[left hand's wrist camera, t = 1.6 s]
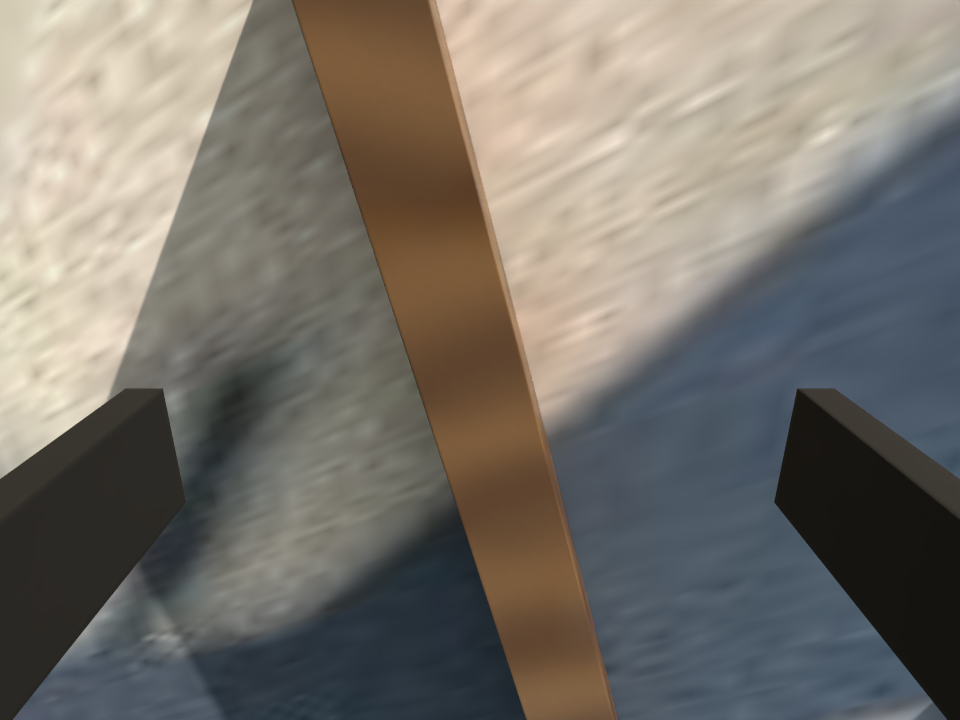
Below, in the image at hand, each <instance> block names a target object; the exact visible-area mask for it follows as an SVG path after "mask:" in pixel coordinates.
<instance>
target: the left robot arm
mask: <svg viewBox="0 0 960 720" xmlns="http://www.w3.org/2000/svg"><path fill="white" fill-rule="evenodd" d="M184 504H185V497H184V492H183V487H182V482H181V477H180V472H179V467H178V462H177V457H176V452H175V447H174V442H173V437H172V432H171V427H170V422H169V417H168V413H167V408H166V403H165V398H164V393H163V389H124V390H123V391H122V392H120V393H119V394H118V395H116V396H115V397H113V398H112V399H111V400H109V401H108V402H106V403H105V404H104V405H102V406H101V407H100V408H98V409H97V410H95V411H94V412H93V413H91V414H90V415H88V416H87V417H86V418H84V419H83V420H82V421H80V422H79V423H77V424H76V425H75V426H73V427H72V428H70V429H69V430H68V431H66V432H65V433H64V434H62V435H61V436H59V437H58V438H57V439H55V440H54V441H52V442H51V443H50V444H48V445H47V446H46V447H44V448H43V449H41V450H40V451H39V452H37V453H36V454H34V455H33V456H32V457H30V458H29V459H28V460H26V461H25V462H23V463H22V464H21V465H19V466H18V467H16V468H15V469H14V470H12V471H11V472H10V473H8V474H7V475H5V476H4V477H3V478H1V479H0V720H13V718H14V717H15V716H16V715H17V713H18V712H19V711H20V710H21V708H22V707H23V706H24V705H25V703H26V702H27V701H28V700H29V698H30V697H31V696H32V695H33V693H34V692H35V691H36V690H37V688H38V687H39V686H40V685H41V683H42V682H43V681H44V679H45V678H46V677H47V676H48V674H49V673H50V672H51V671H52V669H53V668H54V667H55V666H56V664H57V663H58V662H59V661H60V659H61V658H62V657H63V656H64V654H65V653H66V652H67V651H68V649H69V648H70V647H71V646H72V644H73V643H74V642H75V641H76V639H77V638H78V637H79V636H80V634H81V633H82V632H83V631H84V629H85V628H86V627H87V626H88V624H89V623H90V622H91V620H92V619H93V618H94V617H95V615H96V614H97V613H98V612H99V610H100V609H101V608H102V607H103V605H104V604H105V603H106V602H107V600H108V599H109V598H110V597H111V595H112V594H113V593H114V592H115V590H116V589H117V588H118V587H119V585H120V584H121V583H122V582H123V580H124V579H125V578H126V577H127V575H128V574H129V573H130V572H131V570H132V569H133V568H134V567H135V565H136V564H137V563H138V561H139V560H140V559H141V558H142V556H143V555H144V554H145V553H146V551H147V550H148V549H149V548H150V546H151V545H152V544H153V543H154V541H155V540H156V539H157V538H158V536H159V535H160V534H161V533H162V531H163V530H164V529H165V528H166V526H167V525H168V524H169V523H170V521H171V520H172V519H173V518H174V516H175V515H176V514H177V513H178V511H179V510H180V509H181V507H182V506H183V505H184ZM775 504H776V505H777V506H778V507H779V509H780V510H781V511H782V513H783V514H784V515H785V516H786V518H787V519H788V520H789V521H790V523H791V524H792V525H793V526H794V528H795V529H796V530H797V531H798V533H799V534H800V535H801V536H802V538H803V539H804V540H805V541H806V543H807V544H808V545H809V546H810V548H811V549H812V550H813V551H814V553H815V554H816V555H817V556H818V558H819V559H820V560H821V561H822V563H823V564H824V565H825V567H826V568H827V569H828V570H829V572H830V573H831V574H832V575H833V577H834V578H835V579H836V580H837V582H838V583H839V584H840V585H841V587H842V588H843V589H844V590H845V592H846V593H847V594H848V595H849V597H850V598H851V599H852V600H853V602H854V603H855V604H856V605H857V607H858V608H859V609H860V610H861V612H862V613H863V614H864V615H865V617H866V618H867V619H868V620H869V622H870V623H871V624H872V626H873V627H874V628H875V629H876V631H877V632H878V633H879V634H880V636H881V637H882V638H883V639H884V641H885V642H886V643H887V644H888V646H889V647H890V648H891V649H892V651H893V652H894V653H895V654H896V656H897V657H898V658H899V659H900V661H901V662H902V663H903V664H904V666H905V667H906V668H907V669H908V671H909V672H910V673H911V674H912V676H913V677H914V678H915V680H916V681H917V682H918V683H919V685H920V686H921V687H922V688H923V690H924V691H925V692H926V693H927V695H928V696H929V697H930V698H931V700H932V701H933V702H934V703H935V705H936V706H937V707H938V708H939V710H940V711H941V712H942V713H943V715H944V716H945V717H946V718H947V720H960V479H959V478H957V477H956V476H955V475H953V474H952V473H950V472H949V471H948V470H946V469H945V468H944V467H942V466H941V465H939V464H938V463H937V462H935V461H934V460H932V459H931V458H930V457H928V456H927V455H926V454H924V453H923V452H921V451H920V450H919V449H917V448H916V447H914V446H913V445H912V444H910V443H909V442H908V441H906V440H905V439H903V438H902V437H901V436H899V435H898V434H896V433H895V432H894V431H892V430H891V429H890V428H888V427H887V426H885V425H884V424H883V423H881V422H880V421H878V420H877V419H876V418H874V417H873V416H872V415H870V414H869V413H867V412H866V411H865V410H863V409H862V408H860V407H859V406H858V405H856V404H855V403H854V402H852V401H851V400H849V399H848V398H847V397H845V396H844V395H842V394H841V393H840V392H838V391H837V390H836V389H797V393H796V398H795V403H794V408H793V412H792V417H791V422H790V427H789V432H788V437H787V442H786V447H785V452H784V457H783V462H782V467H781V472H780V477H779V482H778V487H777V492H776V497H775Z"/></svg>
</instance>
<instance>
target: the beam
mask: <svg viewBox="0 0 960 720" xmlns="http://www.w3.org/2000/svg"><path fill="white" fill-rule="evenodd" d="M292 3H293V6H294V9H295V12H296V15H297V18H298V21H299V25H300V28H301V31H302V34H303V37H304V40H305V43H306V46H307V49H308V52H309V55H310V58H311V61H312V64H313V67H314V71H315V74H316V77H317V80H318V83H319V86H320V89H321V92H322V95H323V98H324V101H325V104H326V107H327V110H328V113H329V117H330V120H331V123H332V126H333V129H334V132H335V135H336V138H337V141H338V144H339V147H340V150H341V153H342V156H343V159H344V163H345V166H346V169H347V172H348V175H349V178H350V181H351V184H352V187H353V190H354V193H355V196H356V199H357V202H358V205H359V209H360V212H361V215H362V218H363V221H364V224H365V227H366V230H367V233H368V236H369V239H370V242H371V245H372V248H373V251H374V255H375V258H376V261H377V264H378V267H379V270H380V273H381V276H382V279H383V282H384V285H385V288H386V291H387V294H388V297H389V301H390V304H391V307H392V310H393V313H394V316H395V319H396V322H397V325H398V328H399V331H400V334H401V337H402V340H403V343H404V347H405V350H406V353H407V356H408V359H409V362H410V365H411V368H412V371H413V374H414V377H415V380H416V383H417V386H418V389H419V392H420V396H421V399H422V402H423V405H424V408H425V411H426V414H427V417H428V420H429V423H430V426H431V429H432V432H433V435H434V438H435V442H436V445H437V448H438V451H439V454H440V457H441V460H442V463H443V466H444V469H445V472H446V475H447V478H448V481H449V484H450V488H451V491H452V494H453V497H454V500H455V503H456V506H457V509H458V512H459V515H460V518H461V521H462V524H463V527H464V530H465V534H466V537H467V540H468V543H469V546H470V549H471V552H472V555H473V558H474V561H475V564H476V567H477V570H478V573H479V576H480V580H481V583H482V586H483V589H484V592H485V595H486V598H487V601H488V604H489V607H490V610H491V613H492V616H493V619H494V622H495V626H496V629H497V632H498V635H499V638H500V641H501V644H502V647H503V650H504V653H505V656H506V659H507V662H508V665H509V668H510V672H511V675H512V678H513V681H514V684H515V687H516V690H517V693H518V696H519V699H520V702H521V705H522V708H523V711H524V714H525V718H526V720H618V716H617V712H616V709H615V705H614V701H613V697H612V693H611V689H610V685H609V681H608V677H607V673H606V669H605V665H604V661H603V657H602V653H601V649H600V645H599V642H598V638H597V634H596V630H595V626H594V622H593V618H592V614H591V610H590V606H589V602H588V598H587V594H586V590H585V586H584V582H583V578H582V575H581V571H580V567H579V563H578V559H577V555H576V551H575V547H574V543H573V539H572V535H571V531H570V527H569V523H568V519H567V515H566V511H565V508H564V504H563V500H562V496H561V492H560V488H559V484H558V480H557V476H556V472H555V468H554V464H553V460H552V456H551V452H550V448H549V444H548V441H547V437H546V433H545V429H544V425H543V421H542V417H541V413H540V409H539V405H538V401H537V397H536V393H535V389H534V385H533V381H532V377H531V374H530V370H529V366H528V362H527V358H526V354H525V350H524V346H523V342H522V338H521V334H520V330H519V326H518V322H517V318H516V314H515V310H514V307H513V303H512V299H511V295H510V291H509V287H508V283H507V279H506V275H505V271H504V267H503V263H502V259H501V255H500V251H499V247H498V243H497V240H496V236H495V232H494V228H493V224H492V220H491V216H490V212H489V208H488V204H487V200H486V196H485V192H484V188H483V184H482V180H481V176H480V173H479V169H478V165H477V161H476V157H475V153H474V149H473V145H472V141H471V137H470V133H469V129H468V125H467V121H466V117H465V113H464V109H463V106H462V102H461V98H460V94H459V90H458V86H457V82H456V78H455V74H454V70H453V66H452V62H451V58H450V54H449V50H448V46H447V42H446V39H445V35H444V31H443V27H442V23H441V19H440V15H439V11H438V7H437V3H436V0H292Z"/></svg>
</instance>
